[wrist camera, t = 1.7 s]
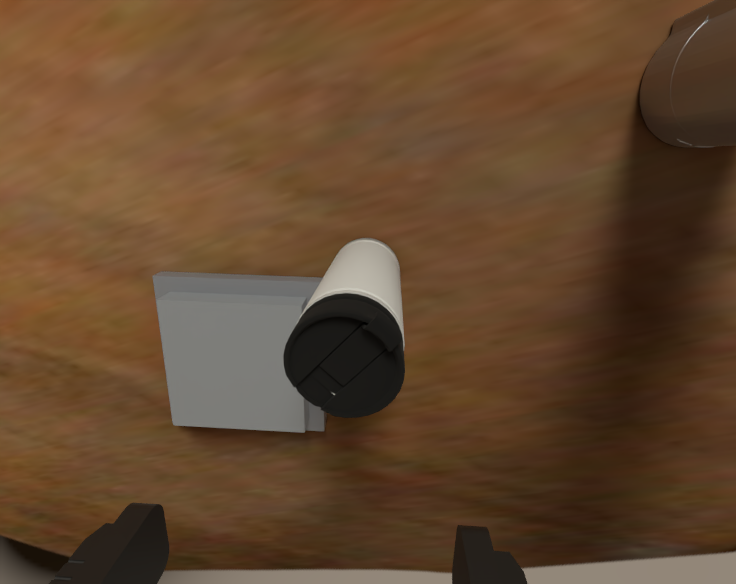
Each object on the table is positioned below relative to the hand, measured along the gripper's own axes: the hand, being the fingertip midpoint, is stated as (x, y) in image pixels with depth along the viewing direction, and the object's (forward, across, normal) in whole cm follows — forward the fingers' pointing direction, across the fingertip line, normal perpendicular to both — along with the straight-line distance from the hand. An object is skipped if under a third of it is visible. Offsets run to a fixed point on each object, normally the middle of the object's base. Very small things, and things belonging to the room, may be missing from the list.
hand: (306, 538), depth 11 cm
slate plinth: (+29, +12, +9) cm, 33 cm away
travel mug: (+30, 0, 0) cm, 30 cm away
